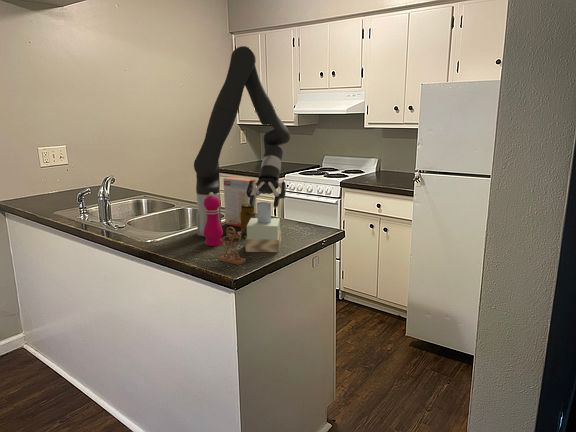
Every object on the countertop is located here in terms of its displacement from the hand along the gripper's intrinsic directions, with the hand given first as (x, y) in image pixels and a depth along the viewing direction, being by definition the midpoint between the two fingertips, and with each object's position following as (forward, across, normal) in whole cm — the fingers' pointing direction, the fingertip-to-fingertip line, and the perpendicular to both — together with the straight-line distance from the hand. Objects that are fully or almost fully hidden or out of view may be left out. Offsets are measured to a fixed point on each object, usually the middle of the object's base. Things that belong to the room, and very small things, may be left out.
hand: (263, 206), depth 157 cm
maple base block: (+10, 0, +12) cm, 16 cm away
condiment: (0, -11, +23) cm, 26 cm away
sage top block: (+7, 0, +9) cm, 11 cm away
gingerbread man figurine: (+22, -7, 0) cm, 23 cm away
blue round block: (+3, 0, +5) cm, 6 cm away
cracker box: (-9, -18, +32) cm, 37 cm away
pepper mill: (+10, -20, +12) cm, 26 cm away
